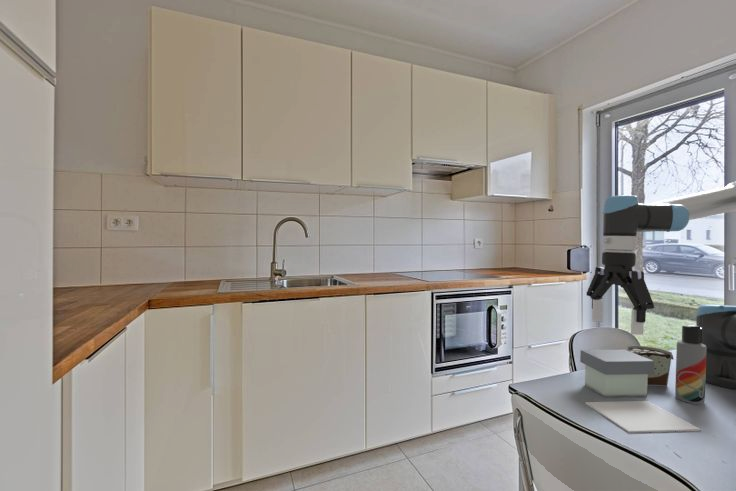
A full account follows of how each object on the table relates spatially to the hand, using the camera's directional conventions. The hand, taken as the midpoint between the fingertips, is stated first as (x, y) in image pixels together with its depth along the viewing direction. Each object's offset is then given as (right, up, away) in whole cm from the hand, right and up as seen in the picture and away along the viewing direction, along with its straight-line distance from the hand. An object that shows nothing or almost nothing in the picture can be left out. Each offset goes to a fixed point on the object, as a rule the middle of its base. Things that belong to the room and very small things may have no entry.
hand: (615, 327), depth 94 cm
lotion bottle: (+16, -18, -5) cm, 25 cm away
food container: (+13, -18, +7) cm, 24 cm away
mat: (-5, -18, -14) cm, 23 cm away
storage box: (0, -18, 0) cm, 18 cm away
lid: (0, -11, 0) cm, 11 cm away
